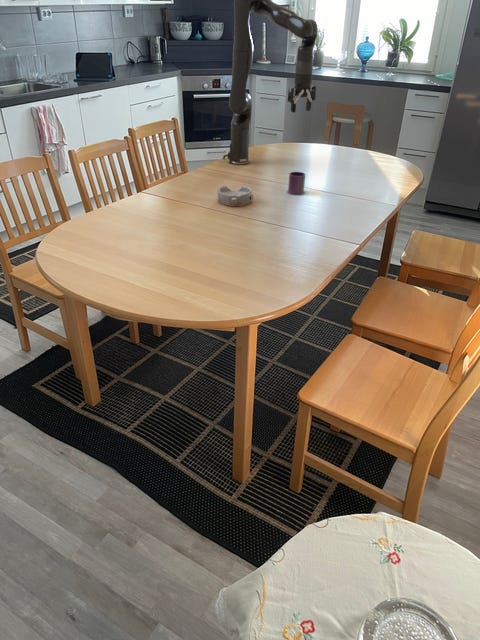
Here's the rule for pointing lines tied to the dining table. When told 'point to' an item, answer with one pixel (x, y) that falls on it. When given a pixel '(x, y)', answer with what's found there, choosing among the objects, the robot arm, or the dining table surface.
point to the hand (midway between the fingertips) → (300, 111)
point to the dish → (235, 196)
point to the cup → (296, 183)
